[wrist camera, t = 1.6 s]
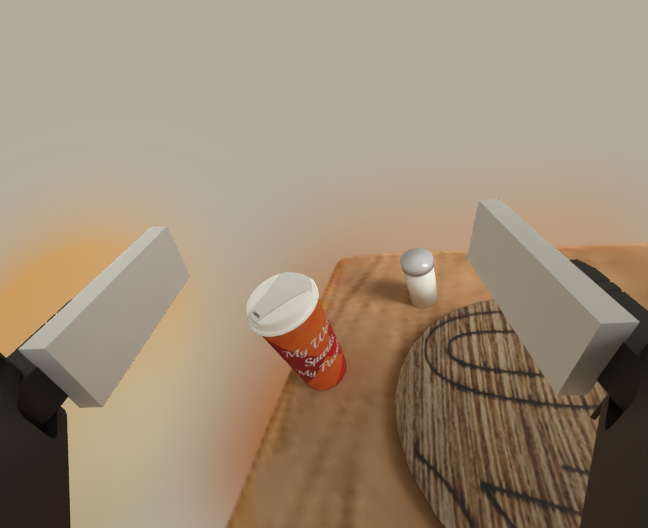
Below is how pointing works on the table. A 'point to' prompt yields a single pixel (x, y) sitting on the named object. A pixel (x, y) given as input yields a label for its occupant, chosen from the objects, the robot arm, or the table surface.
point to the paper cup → (297, 328)
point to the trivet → (492, 427)
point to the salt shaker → (420, 277)
